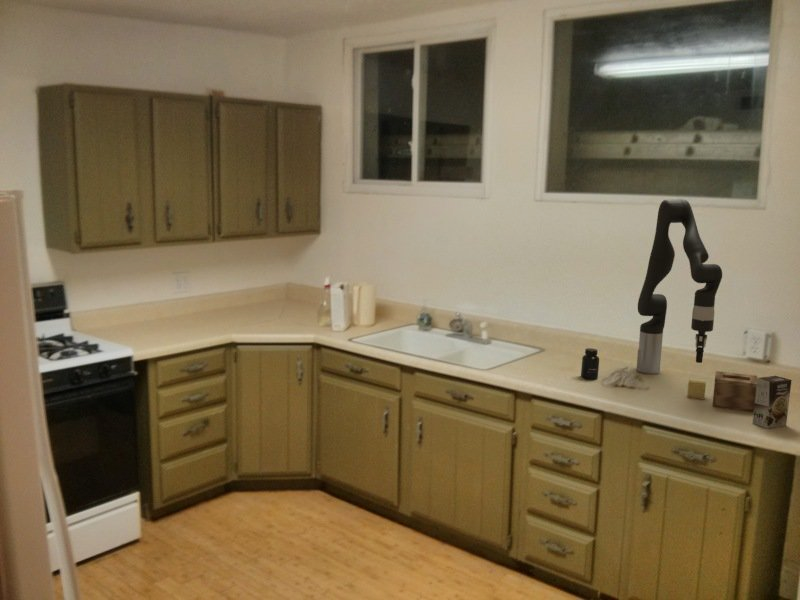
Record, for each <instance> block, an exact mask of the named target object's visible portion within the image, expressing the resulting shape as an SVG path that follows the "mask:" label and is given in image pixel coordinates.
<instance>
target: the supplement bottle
mask: <svg viewBox="0 0 800 600" xmlns="http://www.w3.org/2000/svg"><path fill="white" fill-rule="evenodd" d="M599 368H600V358H599V356H598V349H597V348H590V347H587V348H585V351H584V355H583V356H582V357H581V370H580V371H581V372H580V377H581V379H584V380H588V381H595V380H598V377H599V370H600V369H599Z"/></svg>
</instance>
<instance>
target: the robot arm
mask: <svg viewBox="0 0 800 600" xmlns="http://www.w3.org/2000/svg"><path fill="white" fill-rule="evenodd" d="M691 206H692V205H691V204H690V202H689V201H688V200H687V199H682V198H677V199H676V198H675V199H664V200H662V201H661V202H660V205H659V207H658V212H657V219H656V226H655V227H656V228H655V233H654V237H653V238H654V239H653V242H652V243H653V244H652V248H651V252H650V255H649V259H648V264H647V270H646V274H645V278H644V282H643V283H642V284H643V285H642V288H641V291H640V294H639V298H638V301H637V312H638V314H639V315H640V316H642V317H652V318H651V319H650V320H648V321H646V322H643V323H642V324H641V325H639V340H638V349H637V359H636V370H635V371H636V372H639V373H641V374H642V373H643V374H649V375H655V374H659V373H660V372H661V364H662V363H661V362H662V351H663V350H662V349H663V337H664V328H665V324H666V323H665V322H666V315H667V309H668V301H667V297H666V296H665V295H664V294H661V293H660V294H659V293H655V294H654V292H655V290H656V288H657V287H658V285H659V284H660V283H661V282H662V281H663V280H664V279H665V278H666V277H667V276H668V274H669V273H670V272H671V271H672V269H673V265H674V261H675V256H676V254H675V253H676V252H675V249H674V246H673V244H672V241H671V239H670V236H669V233H670V232H669V231H670V226H671V224H676V223H677V224H682V225H683V228H684V230H685V231H684V236H683V239H682V248H683V251H684V253H685V255H686V256H687V259H688V261H689V269H690V276H691V279H692V280H693V281H694V282H695V283H696V284H705V285H704V287H702V288H700V289H697V290H696V291H694V300H693V301H694V303H693V308H692V313H691V314H692V315H691V316H692V317H691V325H690V327H691V328H690V329H691V330H693V331H696V332H697V333H695V338H694V339H695V348H696V349H695V353H696V355H695V362H696V363H698V364H702V363H703V357H704V352H705V350H704V349H705V348H706V344H707V342H708V334H706V333H708V332H712V331H713V330H714V322H715V303H716V295H717V292H718V290H719V287H720V284H721V282H722V279H723V270H722V268H721V266H720V265H718V264H715V263H706V262H707V261H708V260H709V257H710V255H709V253H708V250H707V249H706V247H705V244H704V242H703V240H702V238H701V236H700V233H699V230H698V226H697V223H696V218H695V215H694V213H693V209H692V207H691Z"/></svg>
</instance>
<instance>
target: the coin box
mask: <svg viewBox="0 0 800 600" xmlns="http://www.w3.org/2000/svg"><path fill="white" fill-rule="evenodd" d="M714 373H715V374H714V386H713V393H712V394H713V396H712V408H719V409H720V408H721V409H726V408H728V410H735V411H741V412H742V411H743V412H751V413H754V406H755V397H756V389H757V380H758V375H754V374H746V373H745V374H744V373H738V372H737V373H735V372H727V371H717V370H715V372H714Z"/></svg>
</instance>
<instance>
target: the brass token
mask: <svg viewBox="0 0 800 600" xmlns="http://www.w3.org/2000/svg"><path fill="white" fill-rule="evenodd" d="M687 385H688V386H687V395H686V396H687V398H692V397H695V398H694V399H700V398H703V399H702V400H705V394H706V385H707V382H706V381H702V380H701V381H700V380H693V379H688V384H687Z"/></svg>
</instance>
